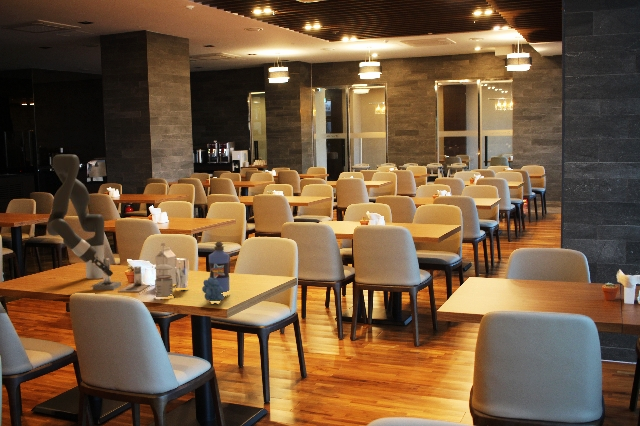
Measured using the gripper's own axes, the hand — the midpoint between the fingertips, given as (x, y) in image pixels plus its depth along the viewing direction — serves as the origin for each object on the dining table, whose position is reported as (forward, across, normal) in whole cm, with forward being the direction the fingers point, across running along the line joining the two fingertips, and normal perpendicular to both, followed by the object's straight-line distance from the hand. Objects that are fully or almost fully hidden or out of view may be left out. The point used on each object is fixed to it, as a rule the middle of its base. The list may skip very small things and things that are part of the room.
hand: (110, 273), depth 341 cm
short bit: (+13, -4, -4) cm, 14 cm away
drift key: (+1, +9, +10) cm, 14 cm away
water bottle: (+36, -36, -25) cm, 57 cm away
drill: (+3, 0, +6) cm, 7 cm away
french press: (+19, -28, -8) cm, 35 cm away
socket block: (+4, 0, +7) cm, 8 cm away
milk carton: (+24, -4, -13) cm, 27 cm away
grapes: (+29, -54, -18) cm, 64 cm away
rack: (+12, -8, -2) cm, 15 cm away
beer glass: (+27, -16, -16) cm, 35 cm away
